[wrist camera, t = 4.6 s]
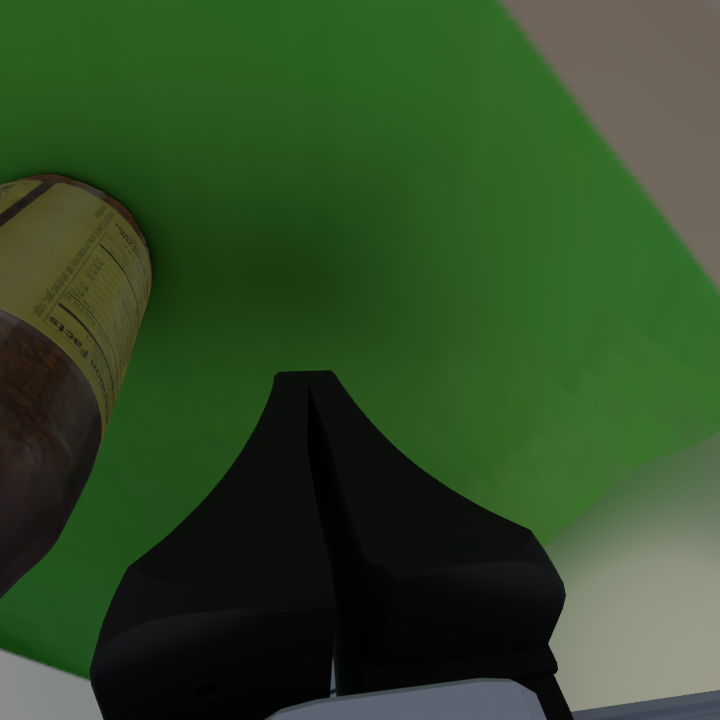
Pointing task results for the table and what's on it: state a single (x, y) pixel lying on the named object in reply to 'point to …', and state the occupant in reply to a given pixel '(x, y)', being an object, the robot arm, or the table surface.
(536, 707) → the robot arm
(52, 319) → the sauce bottle
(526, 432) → the table surface
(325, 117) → the table surface
